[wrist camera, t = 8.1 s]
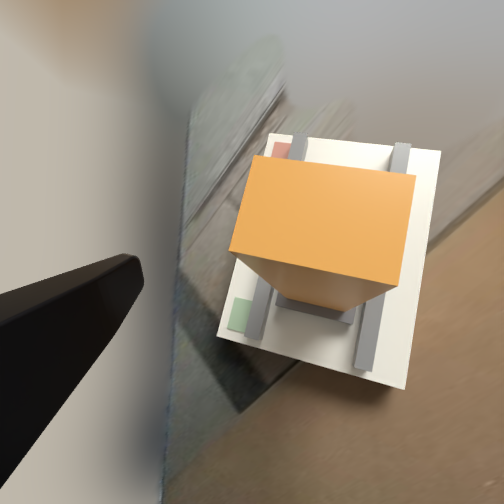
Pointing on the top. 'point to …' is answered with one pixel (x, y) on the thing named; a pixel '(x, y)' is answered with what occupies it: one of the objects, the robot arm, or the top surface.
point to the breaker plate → (367, 314)
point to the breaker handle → (323, 233)
